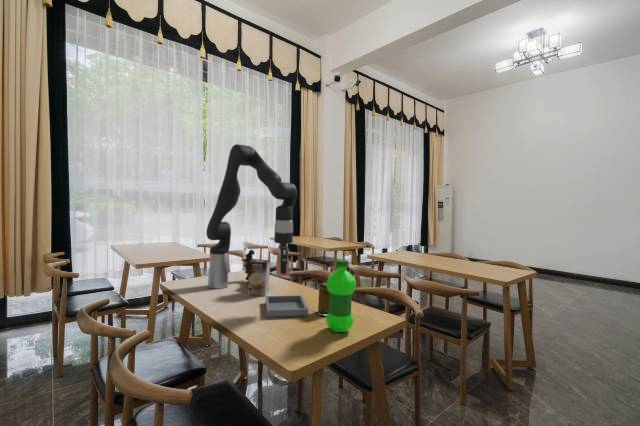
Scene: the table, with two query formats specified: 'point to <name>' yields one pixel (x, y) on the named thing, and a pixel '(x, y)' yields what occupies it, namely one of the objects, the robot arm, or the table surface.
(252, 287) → the coffee box
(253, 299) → the table surface
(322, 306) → the condiment
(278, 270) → the red block
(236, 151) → the robot arm
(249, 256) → the toy figurine
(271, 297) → the tray
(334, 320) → the plastic bottle
